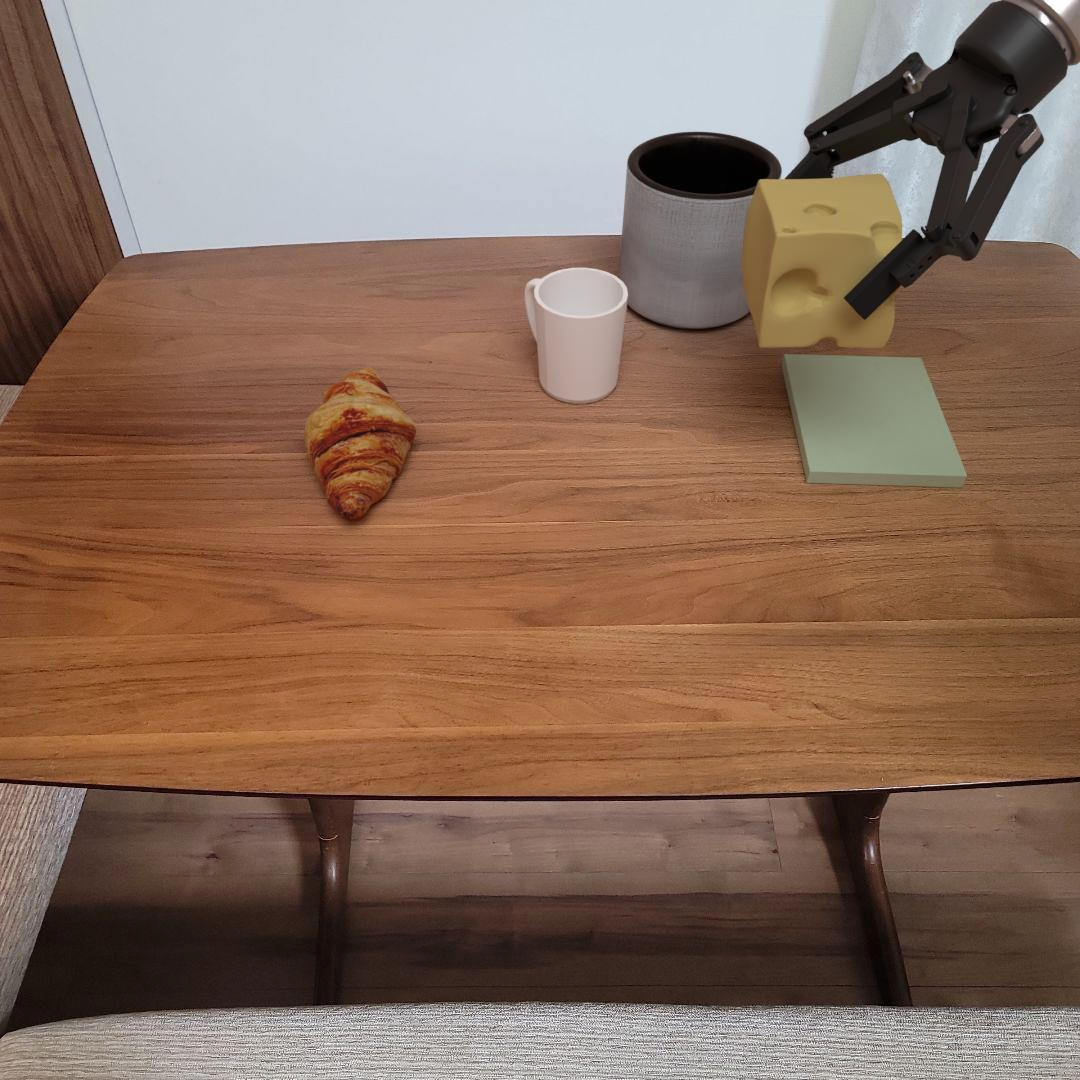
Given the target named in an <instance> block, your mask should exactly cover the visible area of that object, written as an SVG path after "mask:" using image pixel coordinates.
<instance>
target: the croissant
mask: <svg viewBox="0 0 1080 1080" xmlns="http://www.w3.org/2000/svg"><path fill="white" fill-rule="evenodd" d="M416 433H417V427H416V425H415V423H414V421H413V420H412V419H411V418H410V416H408V415H407V414H406V413H405V412H404V411H403V408H402V406H401V404H399V402H398V401H397V400H396V399H395V398H393V397H392V395H390V392H389V389H388V388H387V385H386V384H385V383H384V381H382V380H381V379H380V377H379V374H378V373H377V372H376V371H375V370H374V369H372V368H371V367H370V366H366V367H364V368H363V369H362V370H355V371H351V372H349V373H347V374H346V375H345V376H343V379H342V381H340V382H339V381H338V382H334V383H333V384H330V385H329V387H328V389H327V390H325V391H324V392H323V397H322V404H321V405H319V406H318V407H317V408H316V409H314V411H313V412H312V413H311V414H309V415H308V416H307V418H306V422H305V427H304V431H303V436H304V448H305V452H306V455H307V457H308V460H309V462H310V463H309V464H310V465H311V467H312V469H313V471H314V473H315V475H316V478H317V481H318V483H319V484H320V486H321V489H322V490H323V491H324V493H325V497H326V501H327V503H328V505H329V506H330V507H331V508H332V509H333V510H334V511H335V512H336V513H338V514H339V515H340V516H341V517H342V518H343V519H345V520H347V521H349V520H356V519H359V518H361V517H362V516H364V515H366V513H367V511H368V510H369V509H370V506H371V505H373V504H375V503H377V502H379V501H380V500H381V499H383V498H384V497H385V496H386V494H387V493H388V492H389V490H390V488H391V485H392V483H393V480H395V479H396V478H397V477H398V475H400V473H401V471H402V469H403V468H404V465H405V460H406V458H407V454H408V453H409V451H410V449H411V447H412V443H413V442H414V440H415V438H416Z"/></svg>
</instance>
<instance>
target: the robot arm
mask: <svg viewBox="0 0 1080 1080" xmlns="http://www.w3.org/2000/svg"><path fill="white" fill-rule="evenodd" d="M1079 63H1080V0H998V1H992V2H990V3H989V5H987V7H985V8H984V10H983V11H982V12H981V13H979V15H978V16H977V17H975V19H974V20H973V21H972V22H971V23H970V24H969V25H968V26H967V28H966V29H964V30H963V32H961V34H959V35H958V37H957V38H956V40H955V42H954V46H953V50H952V53H951V55H950V56H949V58H948V59H947V60H946V62H944V63H943V64H941V65H940V66H939V67H937V68H934V69H932V67H930V66H928V65H927V64H926V63H925V61H924V58H923V57H922V56H921V54H920V52H918V51H913V52H911V53H910V54H908V55H907V56H906V57H905V58H904V59H902V60H901V62H899V64H898V65H897V66H896V67H895V68H893V69H892V70H891V71H890V73H888V74H886V75H885V76H883V77H882V78H880V79H878V80H877V81H875V82H874V83H872V84H870V85H869V86H867V87H866V88H864V89H863V90H861V91H859V92H857V93H856V94H854V95H853V96H852V97H850V98H848V99H847V100H846V101H843V102H842V103H840V104H839V105H838V106H836V107H834V108H833V109H831V110H830V111H828V112H827V113H825V114H823V115H822V116H820V117H819V118H818V119H817V118H816V119H815V120H814V121H813V122H811V123H810V124H808V125H807V126H806V127H805V128H804V130H803V135H804V137H805V138H806V140H807V143H808V145H809V148H808V149H809V150H808V152H807V153H806V155H805V156H804V157H803V158H802V159H801V160H800V161H799V162H798V163H797V164H796V166H795V167H794V168H793V169H791V171H790V172H789V173H788V174H787V175H786V176H785V177H784V179H824V178H834V176H833V174H834V173H835V172H834V171H835V167H837V166H840V165H842V164H844V163H847V162H850V161H853V160H856V159H857V158H860V157H863V156H866V155H868V154H871V153H873V152H875V151H878V150H880V149H883V148H885V147H889V146H890V145H893V144H896V143H898V142H901V141H907V142H912V141H915V140H920V141H921V142H922V143H924V144H925V145H927V146H930V147H934V148H935V147H936V148H937V150H938V152H939V153H940V154H941V155H942V156H944V157H943V161H942V165H941V169H940V172H939V176H938V180H937V184H936V188H935V191H934V195H933V199H932V203H931V207H930V211H929V214H928V219H927V221H926V225H924V226H923V225H921V226H920V231H921V232H922V234H923V235H922V234H921V233H920V232H919V231H917V230H916V229H914V228H912V229H911V230H910V231H909V233H908V234H906V235H905V236H904V237H903V238H902V241H901V242H900V243H899V244H898V245H897V246H896V247H895V248H894V249H892V250H891V251H890V252H889V253H888V254H887V255H886V256H885V257H884V258H883V259H882V260H881V261H880V262H879V263H878V264H877V265H876V266H875V267H874V268H873V269H872V270H871V271H870V272H869V273H868V274H867V275H866V276H865V277H864V278H863V279H862V280H861V281H860V282H859V283H858V284H857V285H856V286H855V287H854V288H853V289H852V290H851V291H850V292H849V293H848V294H847V295H846V296H845V297H844V299H845V300H846V301H847V302H848V304H849V305H850V306H851V307H852V308H853V309H854V310H855V311H856V312H857V313H858V314H859V315H860V316H861V317H862V318H863V319H864V320H866V319H867V318H868V317H869V316H870V315H871V314H872V313H873V312H874V311H875V310H876V309H877V308H878V307H879V306H880V305H881V304H882V303H883V302H884V301H885V300H886V299H887V298H888V297H889V296H891V295H892V294H893V293H894V292H895V291H896V290H897V289H898V288H899V287H902V288H904V289H906V288H908V287H911V286H912V285H913V284H914V283H915V282H916V281H917V280H918V279H919V278H921V276H922V275H923V274H925V273H926V272H927V271H928V269H930V268H931V267H932V266H933V265H934V264H935V263H936V262H937V261H938V260H939V259H940V258H943V257H946V256H953V257H958V258H960V259H961V260H962V261H963V262H971V261H973V260H974V259H975V258H977V256H978V254H979V252H980V250H981V248H982V246H983V245H984V242H985V240H986V239H987V237H988V236H989V235H988V234H989V233H990V231H991V229H992V227H993V226H994V223H995V221H996V219H997V218H998V216H999V213H1000V211H1001V210H1002V208H1003V206H1004V203H1005V202H1006V200H1007V198H1008V196H1009V194H1010V192H1011V190H1012V188H1013V186H1014V185H1015V183H1016V180H1017V178H1018V176H1019V174H1020V172H1021V171H1022V168H1023V166H1024V165H1026V163H1027V162H1028V161H1029V160H1030V159H1031V157H1033V156H1034V154H1035V153H1036V152H1038V150H1039V149H1040V148H1041V147H1042V145H1043V144H1044V142H1045V137H1044V135H1043V133H1042V131H1041V129H1040V127H1039V125H1038V123H1037V121H1036V118H1035V117H1034V114H1032V113H1030V112H1032V110H1034V109H1035V108H1036V107H1037V106H1038V105H1039V104H1040V103H1041V102H1042V101H1043V100H1044V99H1045V98H1047V96H1048V95H1049V94H1050V93H1051V92H1052V91H1053V90H1054V89H1055V88H1056V87H1057V86H1058V85H1059V84H1060V83H1061V82H1063V80H1065V78H1066V76H1067V74H1068V69H1069V67H1070V66H1071V67H1072V66H1077V65H1079ZM910 113H912V115H911V114H910ZM1019 115H1020V116H1019ZM824 133H826V134H824ZM997 139H998V140H997ZM994 140H997V142H996V144H994V147H993V149H992V150H991V152H990V154H989V156H988V158H987V160H986V162H985V164H984V166H983V168H982V170H981V172H980V174H979V176H978V178H977V180H976V181H975V183H974V185H973V187H972V190H971V191H970V187H971V183H972V179H973V175H974V172H977V171H978V169H979V165H980V161H981V158H982V154H983V149H984V145H985V144H987V143H989V142H992V141H994ZM969 191H970V193H969ZM968 194H969V195H968ZM899 289H900V288H899ZM899 289H898V290H899ZM898 290H897V291H898ZM897 291H896V292H897Z"/></svg>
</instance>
